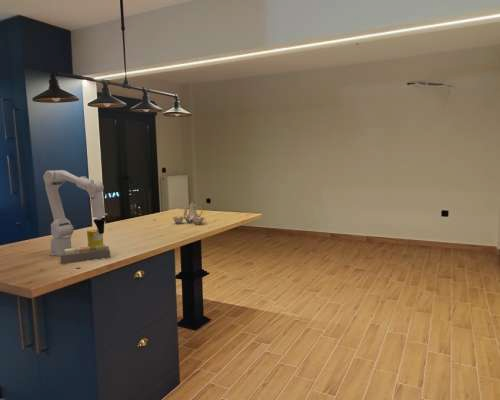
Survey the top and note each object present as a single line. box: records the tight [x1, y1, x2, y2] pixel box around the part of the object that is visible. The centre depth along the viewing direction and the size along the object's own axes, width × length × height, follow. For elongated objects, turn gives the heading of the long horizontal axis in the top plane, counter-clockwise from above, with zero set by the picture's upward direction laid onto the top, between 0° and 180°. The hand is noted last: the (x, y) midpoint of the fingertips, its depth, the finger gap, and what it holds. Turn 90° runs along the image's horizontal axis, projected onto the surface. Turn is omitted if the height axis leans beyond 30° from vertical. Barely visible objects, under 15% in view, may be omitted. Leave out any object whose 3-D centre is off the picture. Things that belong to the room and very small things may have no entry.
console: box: [59, 245, 111, 265], centre depth 189 cm, size 10×22×4 cm, turn 114°
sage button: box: [95, 244, 106, 250], centre depth 191 cm, size 4×4×3 cm
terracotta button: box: [79, 246, 90, 252], centre depth 189 cm, size 4×4×3 cm
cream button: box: [65, 247, 76, 254], centre depth 186 cm, size 4×4×3 cm
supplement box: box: [86, 228, 104, 248], centre depth 207 cm, size 6×6×11 cm
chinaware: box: [171, 201, 207, 226], centre depth 286 cm, size 28×17×17 cm, turn 73°
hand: (101, 232), depth 191 cm, fingers open, 7 cm apart
